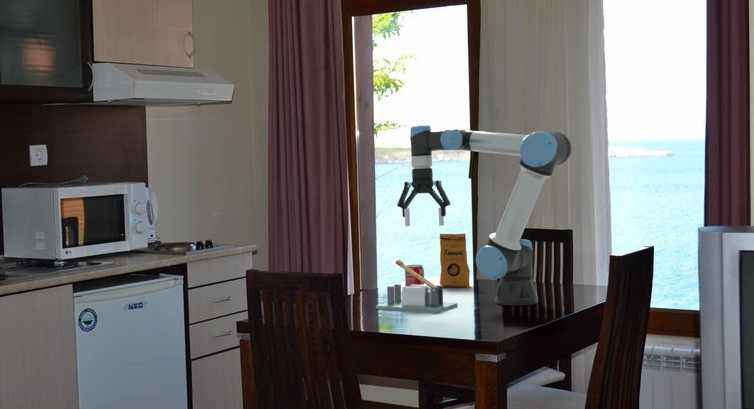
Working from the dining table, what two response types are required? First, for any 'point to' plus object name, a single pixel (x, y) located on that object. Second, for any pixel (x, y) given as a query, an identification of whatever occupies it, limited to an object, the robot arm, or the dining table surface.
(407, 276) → the soda can
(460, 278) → the coffee package
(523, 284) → the robot arm
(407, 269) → the strap
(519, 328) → the dining table surface
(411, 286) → the heat sink
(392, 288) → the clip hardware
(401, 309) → the board
